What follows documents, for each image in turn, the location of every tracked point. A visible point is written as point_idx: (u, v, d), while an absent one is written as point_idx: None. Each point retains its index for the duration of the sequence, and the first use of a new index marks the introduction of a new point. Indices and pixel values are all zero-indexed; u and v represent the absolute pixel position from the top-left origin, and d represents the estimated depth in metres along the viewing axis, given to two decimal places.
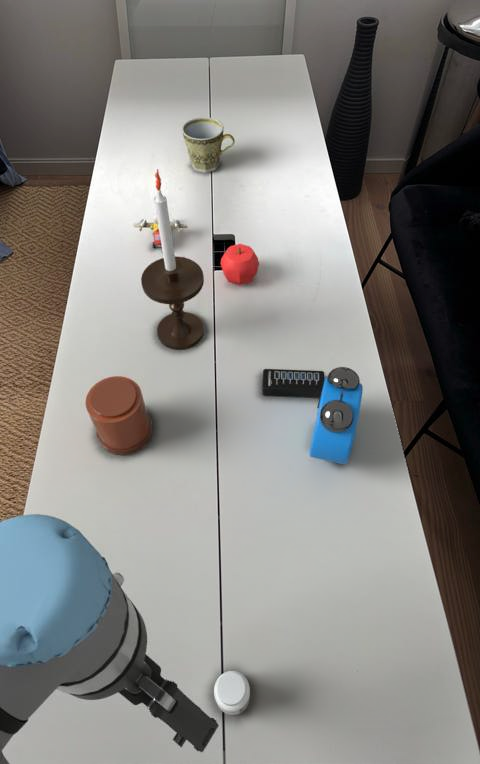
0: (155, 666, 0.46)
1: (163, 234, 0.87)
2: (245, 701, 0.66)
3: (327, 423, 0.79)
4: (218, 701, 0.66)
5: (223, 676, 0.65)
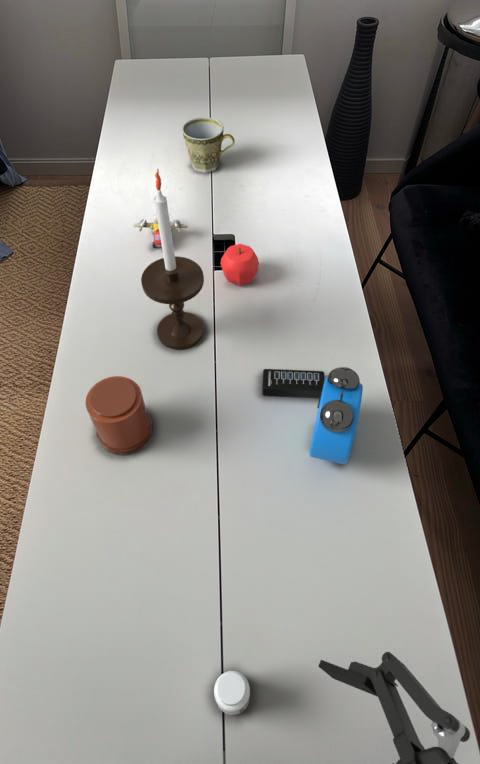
0: None
1: (163, 234, 0.87)
2: (245, 701, 0.66)
3: (327, 423, 0.79)
4: (218, 701, 0.66)
5: (223, 676, 0.65)
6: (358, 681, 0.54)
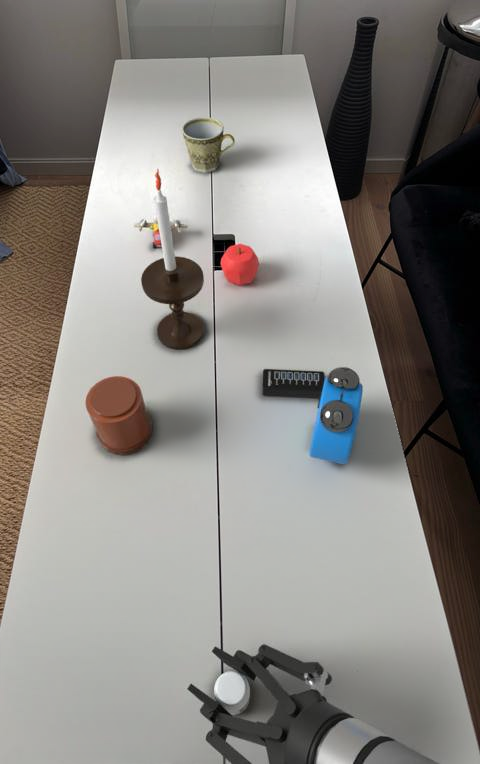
0: None
1: (163, 234, 0.87)
2: (245, 701, 0.66)
3: (327, 423, 0.79)
4: (218, 701, 0.66)
5: (223, 676, 0.65)
6: (237, 665, 0.65)
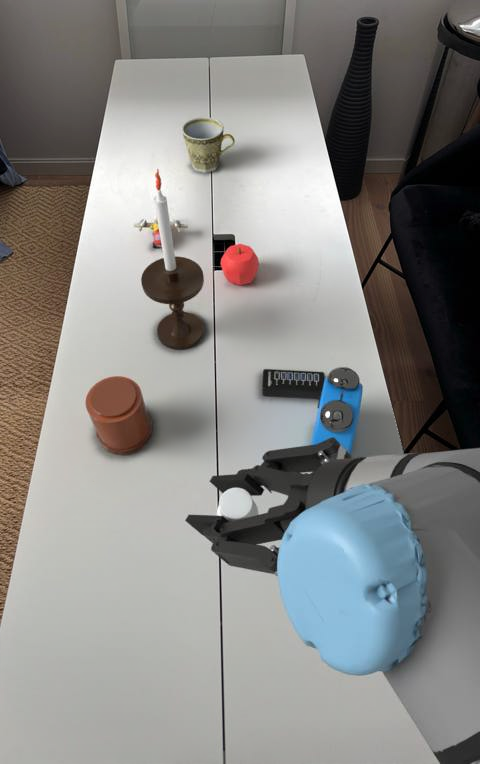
0: None
1: (163, 234, 0.87)
2: None
3: (327, 423, 0.79)
4: None
5: (225, 493, 0.56)
6: (240, 479, 0.56)
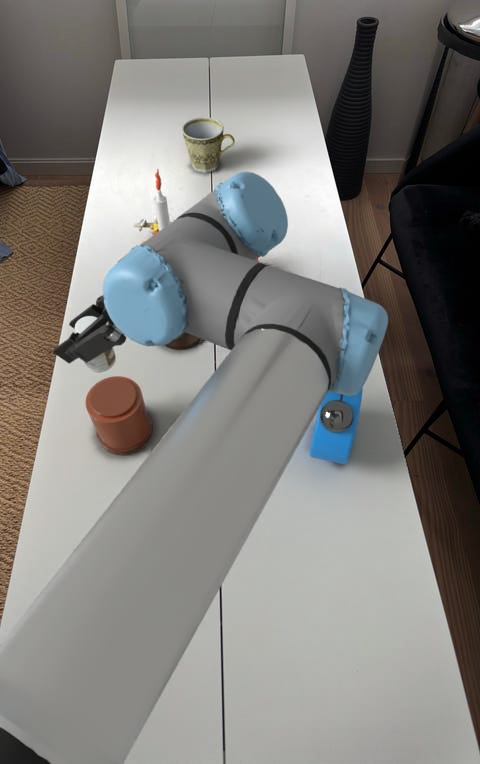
0: None
1: None
2: None
3: (327, 423, 0.79)
4: None
5: (79, 320, 0.72)
6: (88, 309, 0.73)
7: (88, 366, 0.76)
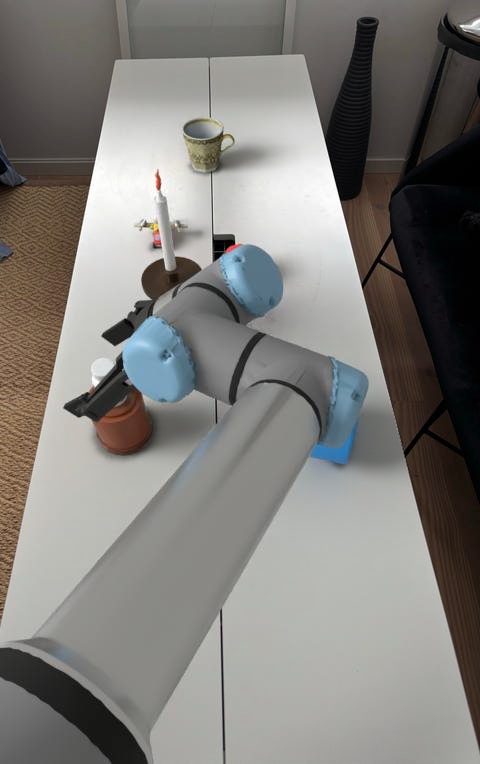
0: None
1: (163, 234, 0.87)
2: None
3: None
4: None
5: (94, 362, 0.80)
6: (120, 323, 0.81)
7: None
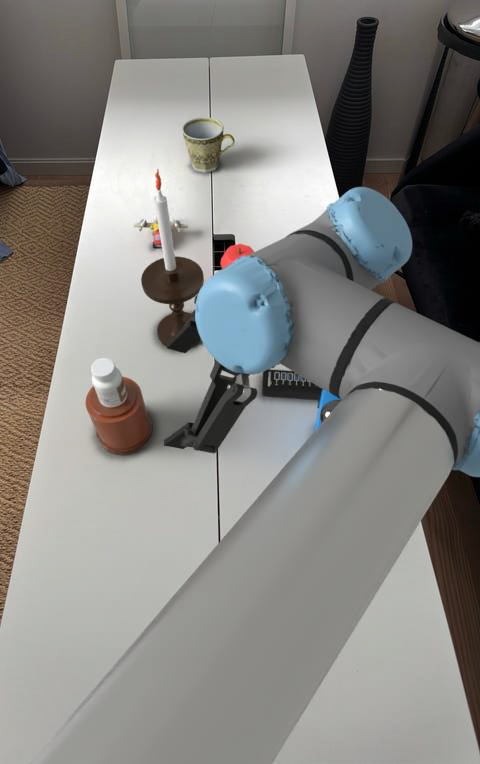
0: None
1: (163, 234, 0.87)
2: (118, 379, 0.81)
3: None
4: (97, 385, 0.80)
5: (94, 362, 0.80)
6: (187, 327, 0.68)
7: (102, 402, 0.83)
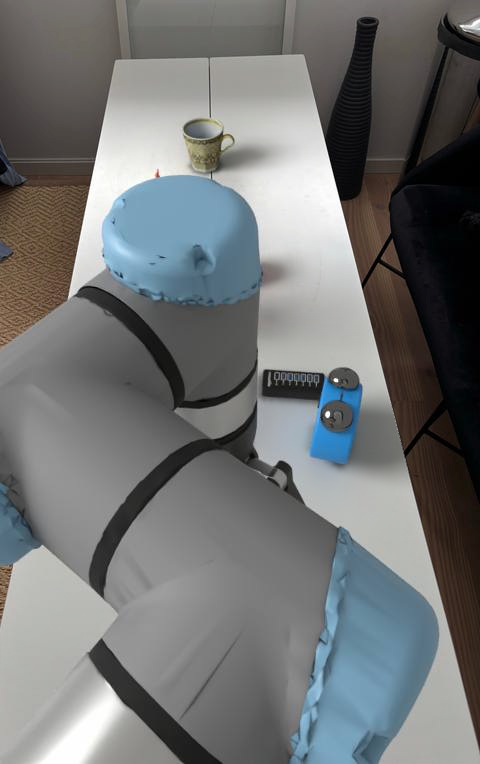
0: None
1: None
2: None
3: (327, 423, 0.79)
4: None
5: None
6: None
7: None
